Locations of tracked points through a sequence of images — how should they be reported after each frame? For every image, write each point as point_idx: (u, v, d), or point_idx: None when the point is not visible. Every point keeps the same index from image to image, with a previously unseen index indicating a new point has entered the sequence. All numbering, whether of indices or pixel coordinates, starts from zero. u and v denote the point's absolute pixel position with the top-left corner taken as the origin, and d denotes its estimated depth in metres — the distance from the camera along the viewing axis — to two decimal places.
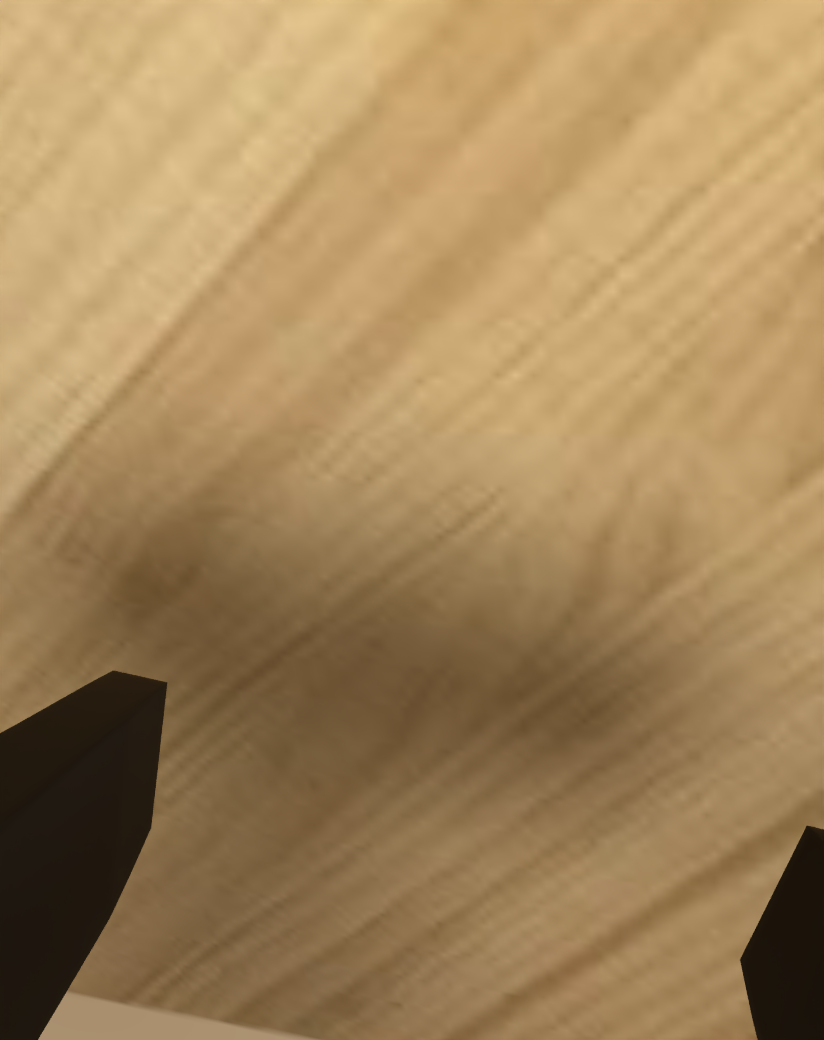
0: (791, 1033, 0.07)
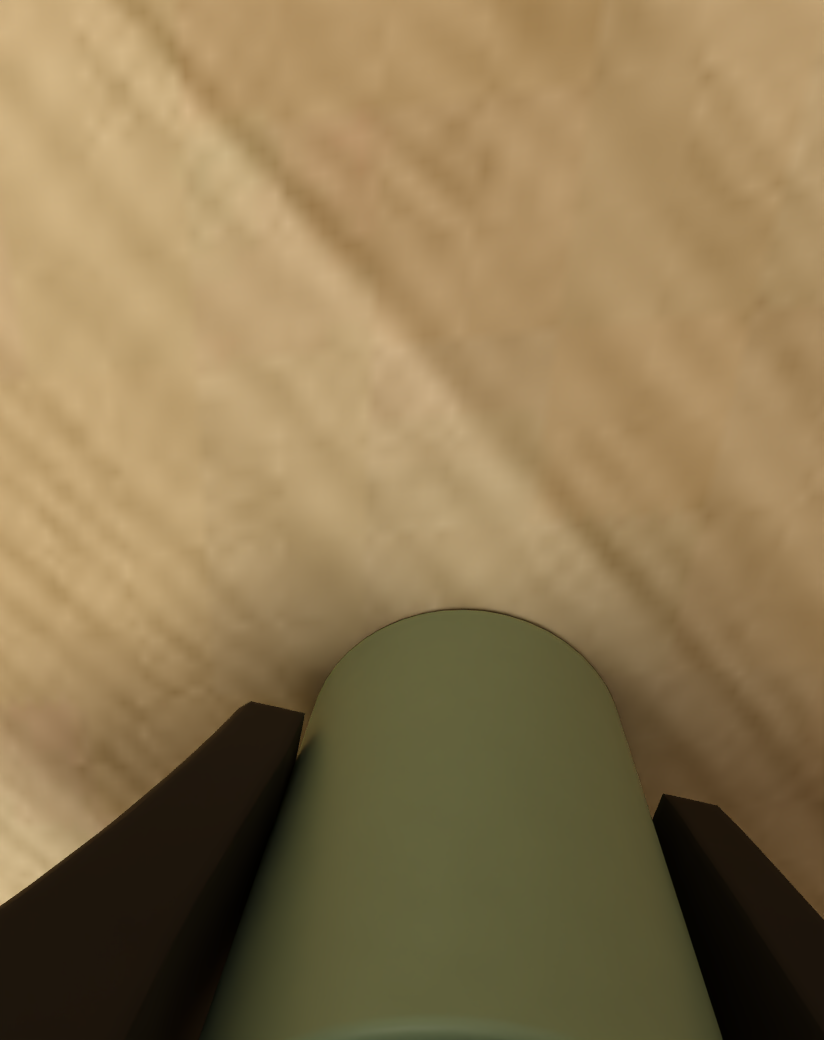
0: None
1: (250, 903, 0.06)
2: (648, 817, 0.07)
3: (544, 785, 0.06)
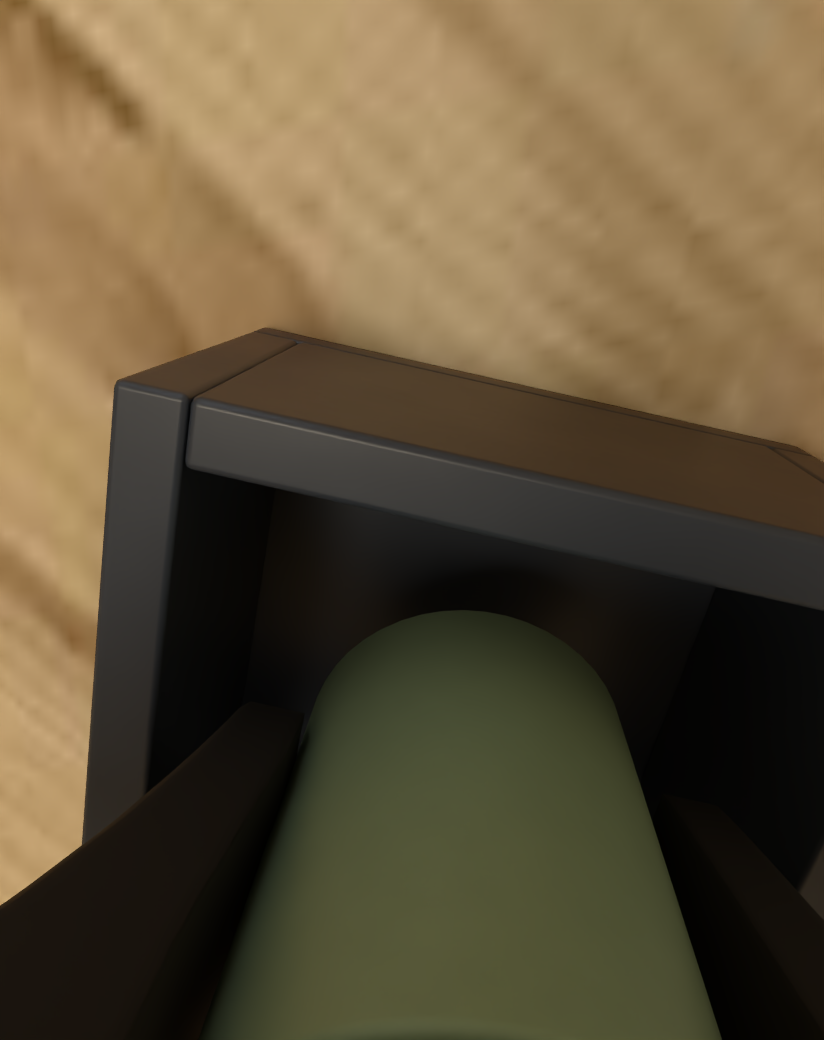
0: None
1: (249, 904, 0.06)
2: (648, 818, 0.07)
3: (545, 787, 0.06)
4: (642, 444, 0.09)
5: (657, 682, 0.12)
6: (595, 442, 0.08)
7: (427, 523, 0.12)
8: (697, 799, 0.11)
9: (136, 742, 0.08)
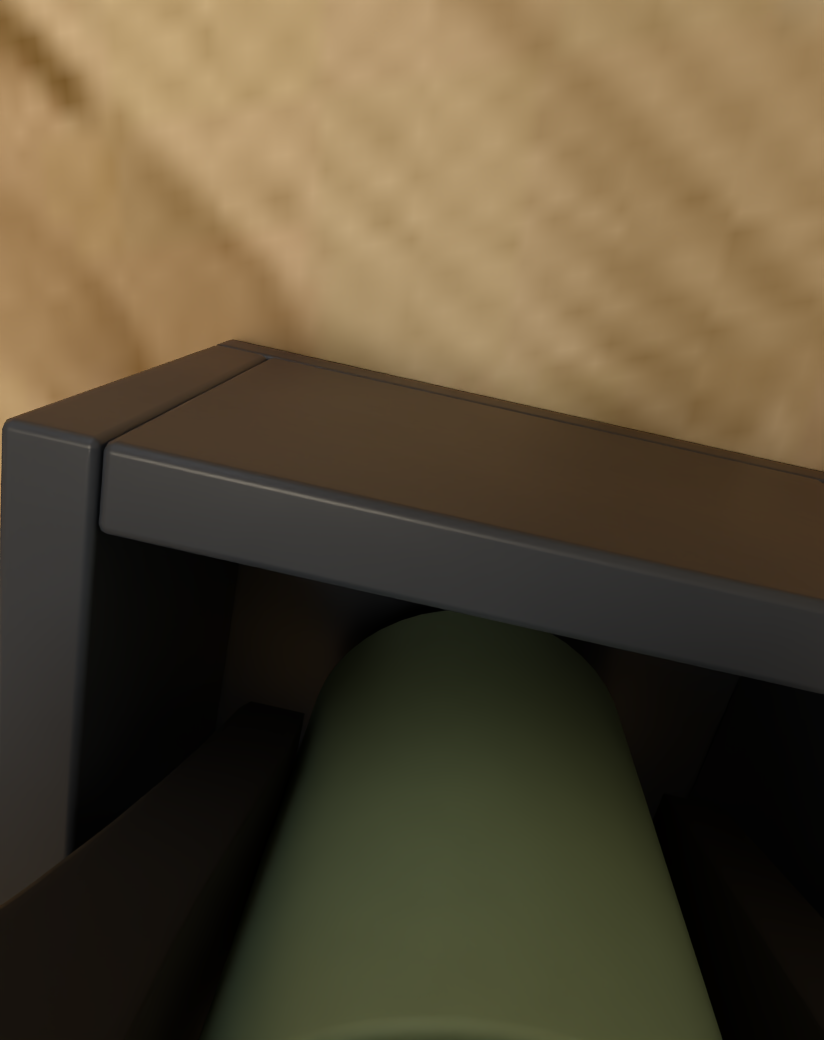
0: None
1: (250, 904, 0.06)
2: (648, 818, 0.07)
3: (545, 786, 0.06)
4: (680, 485, 0.07)
5: (685, 746, 0.11)
6: (624, 486, 0.07)
7: None
8: None
9: (52, 866, 0.06)
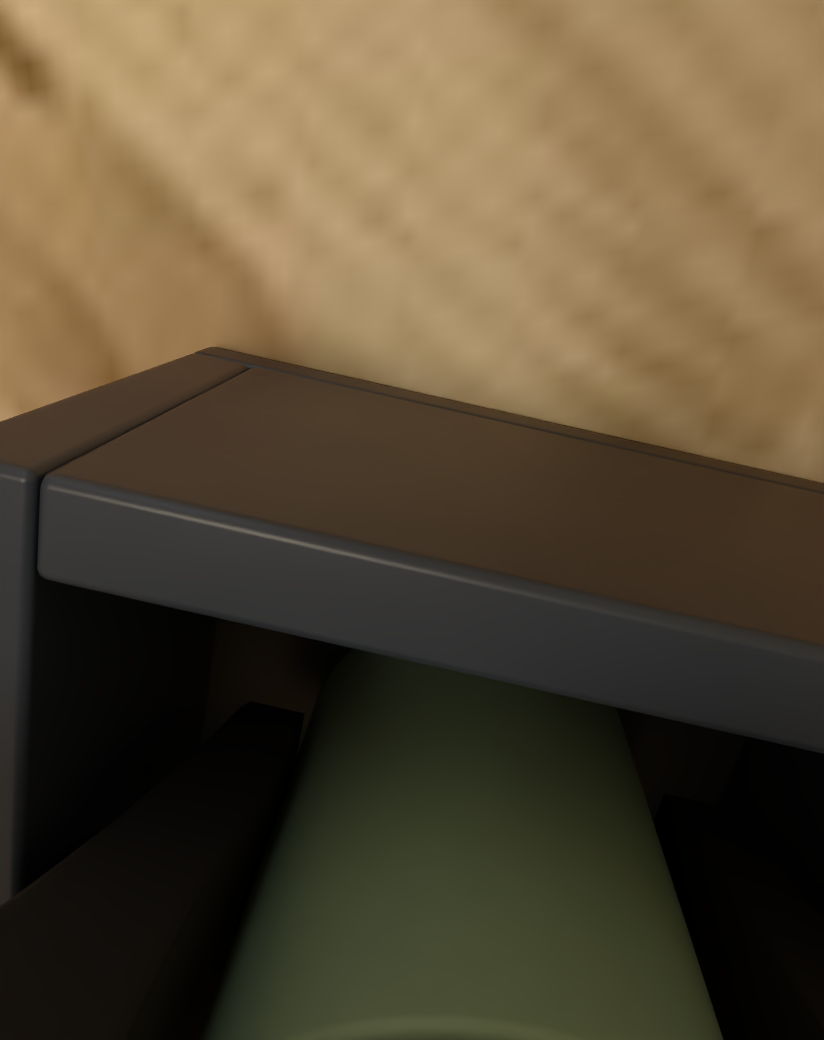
0: None
1: (251, 903, 0.06)
2: (649, 817, 0.07)
3: (546, 787, 0.06)
4: (703, 511, 0.07)
5: (701, 782, 0.10)
6: (643, 514, 0.06)
7: None
8: None
9: None
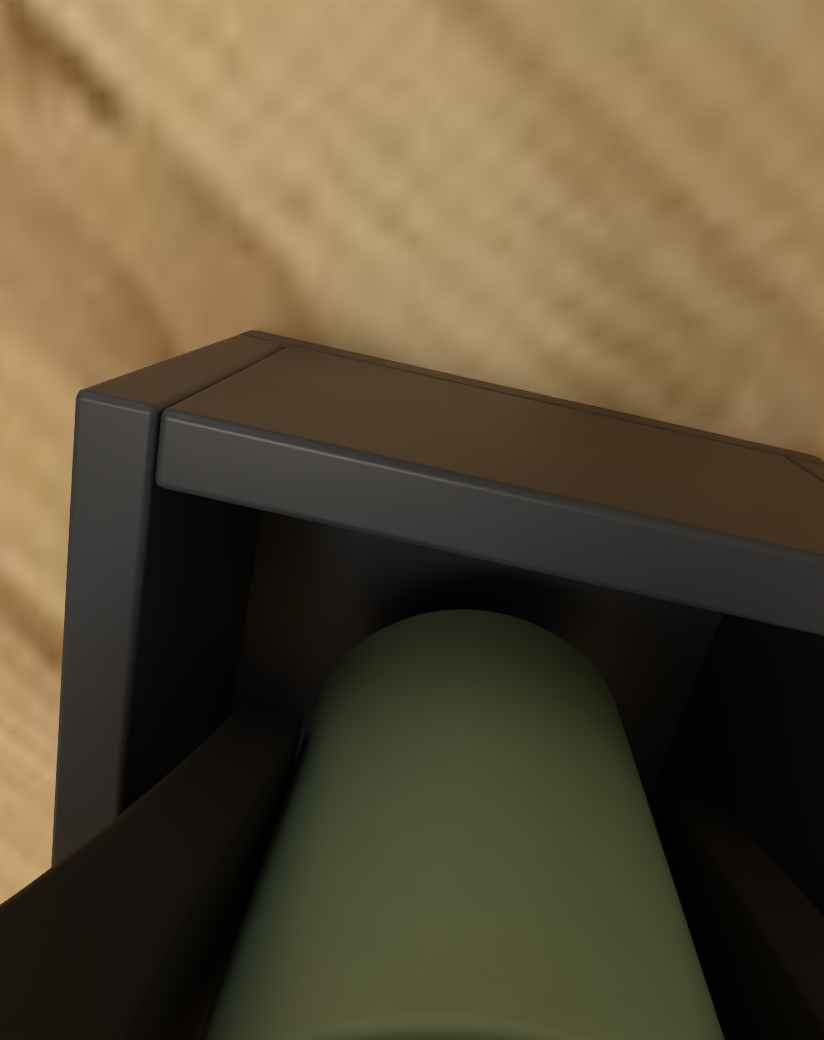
0: None
1: (252, 902, 0.06)
2: (649, 817, 0.07)
3: (546, 785, 0.06)
4: (653, 456, 0.08)
5: (665, 702, 0.12)
6: (603, 455, 0.08)
7: None
8: None
9: (106, 782, 0.07)
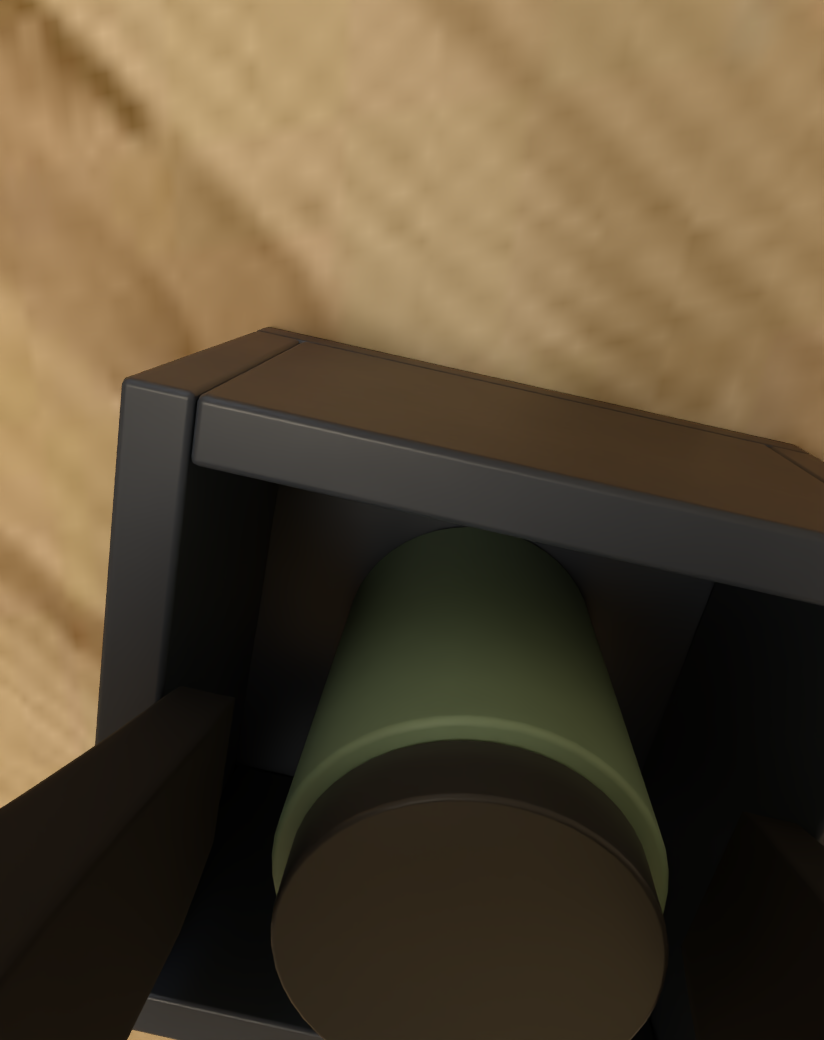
0: (723, 1018, 0.07)
1: (321, 703, 0.09)
2: (601, 660, 0.10)
3: (525, 622, 0.09)
4: (641, 442, 0.09)
5: (656, 678, 0.12)
6: (594, 440, 0.09)
7: (428, 520, 0.12)
8: (695, 793, 0.11)
9: None
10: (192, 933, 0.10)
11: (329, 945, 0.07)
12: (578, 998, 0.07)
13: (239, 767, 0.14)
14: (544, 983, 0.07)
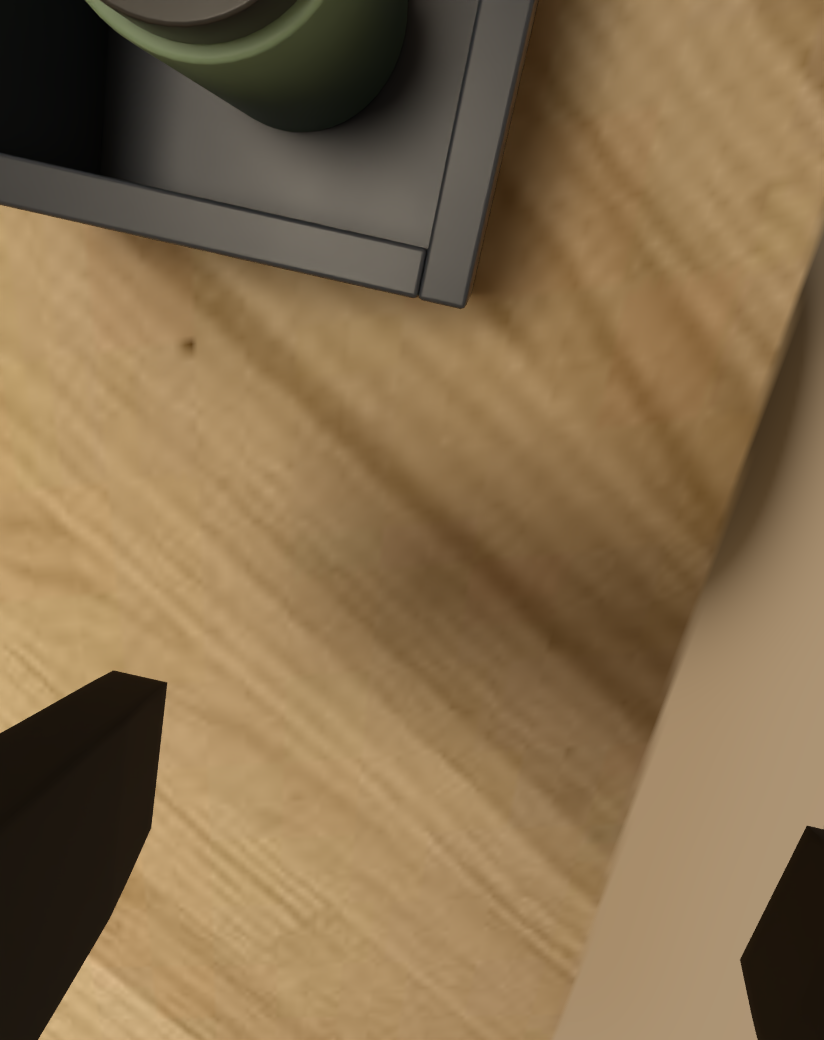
0: (791, 1033, 0.07)
1: None
2: None
3: None
4: None
5: None
6: None
7: None
8: None
9: None
10: None
11: None
12: None
13: None
14: None
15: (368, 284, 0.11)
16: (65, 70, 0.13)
